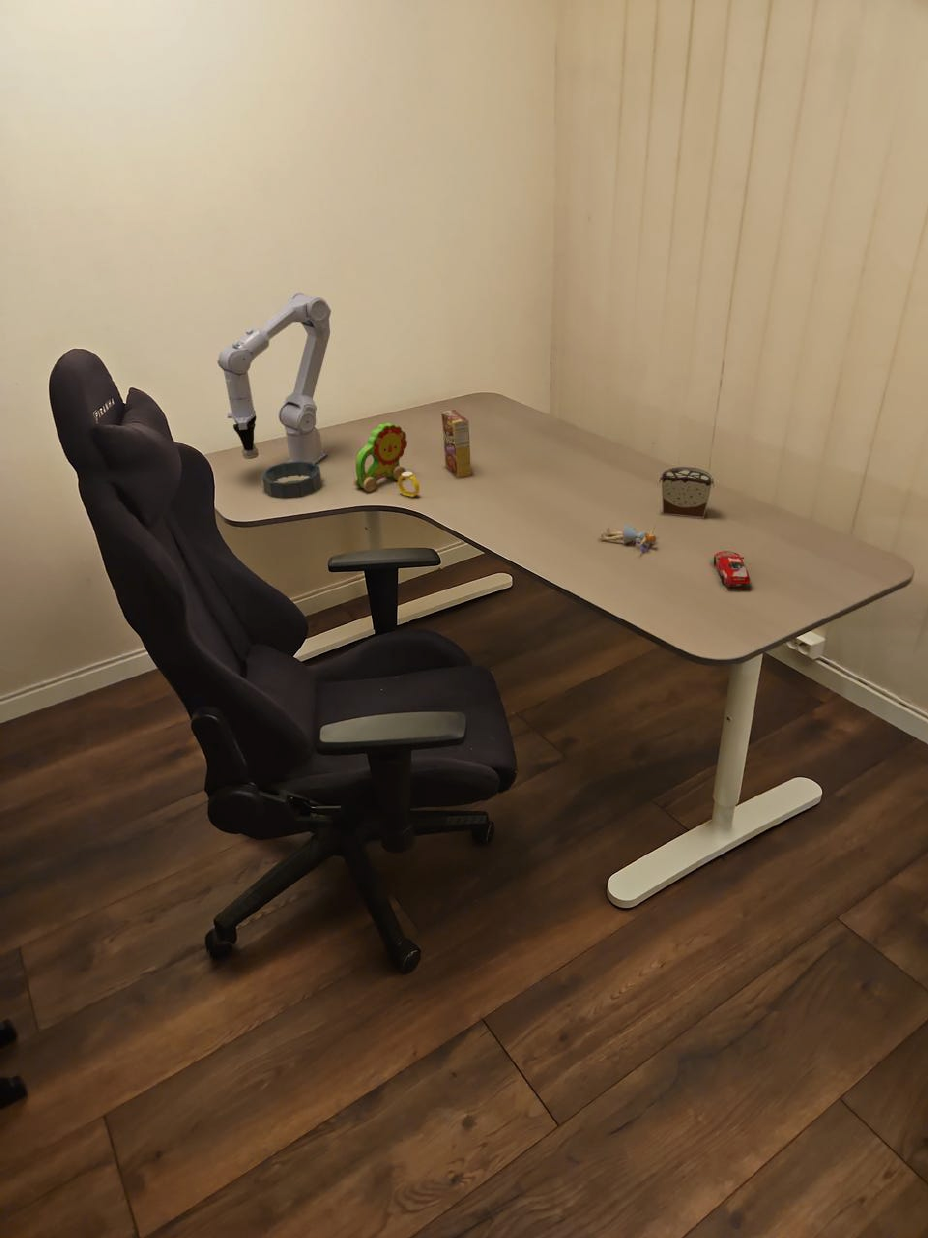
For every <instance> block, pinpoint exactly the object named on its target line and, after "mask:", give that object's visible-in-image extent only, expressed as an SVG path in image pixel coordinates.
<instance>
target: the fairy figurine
mask: <svg viewBox="0 0 928 1238" xmlns="http://www.w3.org/2000/svg"><path fill="white" fill-rule="evenodd" d="M655 529H656V524H654V525H653V528H652V530H651V531H650V532H649V533H648V532H646V531H641V532H639V530H637V529H636V528H634V527H633V526H631V525H630V524H626V525H625V527H624V528H623V531H612V530H611V528H610V526H609V525H608V526H606V534H607V535H608V536H606V535H605V532H604V531H601V533H600V535H601V541H611V542H615V541H618V540H621V539H622V541H623V544H625V545H626V544H628V543H631V542H634V541H635V540H636V544H635V548H640V549H641V550H642V551H643V552H644V553H646V550H648V545H649V544H648V543H652V544H655V541H656V539H657V538H656V535H655V534H654V530H655ZM637 539H638V540H637ZM643 546H644V547H643Z"/></svg>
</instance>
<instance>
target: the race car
mask: <svg viewBox="0 0 928 1238" xmlns="http://www.w3.org/2000/svg"><path fill="white" fill-rule="evenodd" d="M744 559H745V557H743V556H742V557H741V556H740V554H739V553H737V552H734V551H729V550H725V551H720V552H719V551H718V552H717V553H715V554H714V556H713V565H714V566H715V568H716V570H717V571H718V575H719V577H720V580H721V583H722V585H724V586H726V587H728V588H748V587H749V586H750V581H751V579H750V573H749V571H748V569H747V567H746V565H745V563H744Z"/></svg>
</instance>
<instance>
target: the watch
mask: <svg viewBox="0 0 928 1238" xmlns="http://www.w3.org/2000/svg"><path fill="white" fill-rule="evenodd" d="M404 479H409V480H410V481H411V482H412V483H413V485H414V493H412V492H411V493H410V492H408V491H406V489H405V487H404V486H403V480H404ZM397 487H398V489H399V492H400V493H401V494H402V495H403V496H406V497H410V498H415V497H416V496H417V495H418V494H420V493H419V492H420V483H419V481H418V480H417V477H415V476H414V473H413V472H412V471H406V472H404V473H402V476H400V477H399V480H397Z"/></svg>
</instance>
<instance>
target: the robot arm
mask: <svg viewBox="0 0 928 1238" xmlns="http://www.w3.org/2000/svg"><path fill="white" fill-rule="evenodd" d="M331 313H332V309H331V308H330V307H329V304H328V303H327V301H326V300H325V299H324V298H322V297H319V296H313V295H309V294H305V293H302V292H297V293H294V294H293V295H292V296H291V297H290V298H288V299H287V300H285V302H284V305H283V306H282V307H281V308H280V309H279V310H278V311H277V312H276V313H275V314H274V315H273V316H272V317H270V318H269V320H268V321H266V323H265V324H263V326H261V327H260V328H257V327H253V328H248V329H247V330H245V334H244V335H243V336H242V337H241V338H240V339H238V340H237V341H234V342H232V346H229V347H228V346H227V347H224V348H223V349H222V350H221V351H220V353H219V355H218V359H217V360H216V361H217V364H218V366H219V367H220V369H222V370H223V374H224V378H225V384H226V389H227V395H228V400H229V405H230V406H229V407H230V411H231V412H228V413H227V418H228V419H233V420H234V423H233V424H232V428H233V431H234V432H235V433H236V434H237V436H238V438H239V440H240V442H241V445H242V448H243V447H244V449H245V450H253V442H254V443H255V429H256V425H257V424H256V421H257V414H256V413H257V412H256V410H255V406H254V400H253V395H252V388H251V384H250V377H249V372H248V371H249V370H250V368H251V364H252V362H253V361H254V360H255V359H256V358H257V357H259V356H260V355H261V354H262V353H264V351H266V350H267V349H268V348H269V347H270V340H271V339H272V338H274V337H275V336H277V335H278V334H280V333H281V332H282V331H283V330H285V329H286V328H287V327H289V326H290V325H291V324H293V323H300V324H301V325H302V327H303V328H304V330H305V332H306V334H307V335H306V336H307V337H306V341H305V345H304V348H303V351H302V355H301V359H300V364H299V367H298V371H297V375H296V378H295V381H294V382H295V383H294V387H293V391H292V392H291V393H290V394H289V395H288V396H286V398H285V400H284V403H283V404H282V406H281V407H280V409H279V412H278V419H279V422H280V423H281V424H282V425H283V426H284V430H285V433H286V440H287V447H288V453H289V459H288V460H286V462H295V461H302V462H311V463H313V464H315V465H316V463H318V462H319V461H320V460H322V459H323V458H324V457H326V453H323V447H322V441H321V434H320V431H319V430H318V428H317V427H316V425H317V409H318V406H317V405H316V403H315V400H314V396H315V392H316V388H317V385H318V381H319V378H320V373H321V371H322V365H323V362H324V358H325V355H326V351H327V347H328V343H329V340H330V335H331V329H330V328H331V327H330V317H331Z"/></svg>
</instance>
